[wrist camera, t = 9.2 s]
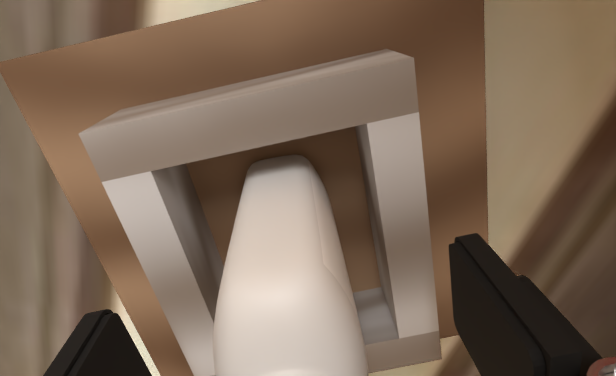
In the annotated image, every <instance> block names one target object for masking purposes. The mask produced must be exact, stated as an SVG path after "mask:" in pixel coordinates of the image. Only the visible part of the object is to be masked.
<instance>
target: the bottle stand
mask: <svg viewBox="0 0 616 376" xmlns="http://www.w3.org/2000/svg"><path fill="white" fill-rule="evenodd" d="M0 73H1V74H2V76H3V78H4V80H5V82H6V84H7V86H8V88H9V90H10V91H11V93H12V95H13V97H14V99H15V101H16V103H17V105H18V107H19V108H20V110H21V112H22V114H23V116H24V118H25V120H26V122H27V124H28V125H29V127H30V129H31V131H32V133H33V135H34V137H35V139H36V141H37V142H38V144H39V146H40V148H41V150H42V152H43V154H44V156H45V158H46V159H47V161H48V163H49V165H50V167H51V169H52V171H53V173H54V175H55V176H56V178H57V180H58V182H59V184H60V186H61V188H62V190H63V192H64V193H65V195H66V197H67V199H68V201H69V203H70V205H71V207H72V209H73V210H74V212H75V214H76V216H77V218H78V220H79V222H80V224H81V226H82V227H83V229H84V231H85V233H86V235H87V237H88V239H89V241H90V243H91V245H92V246H93V248H94V250H95V252H96V254H97V256H98V258H99V260H100V262H101V263H102V265H103V267H104V269H105V271H106V273H107V275H108V277H109V279H110V280H111V282H112V284H113V286H114V288H115V290H116V292H117V294H118V296H119V297H120V299H121V301H122V303H123V305H124V307H125V309H126V311H127V313H128V314H129V316H130V318H131V320H132V322H133V324H134V326H135V328H136V330H137V331H138V333H139V335H140V337H141V339H142V341H143V343H144V345H145V347H146V348H147V350H148V352H149V354H150V356H151V358H152V360H153V362H154V364H155V365H156V367H157V369H158V371H159V373H160V375H161V376H216V374H215V367H214V358H213V330H214V320H215V312H216V305H217V299H218V294H219V289H220V284H221V279H222V275H223V270H224V265H225V261H226V257H227V252H228V248H229V244H230V240H231V235H232V231H233V227H234V223H235V219H236V214H237V210H238V206H239V202H240V198H241V194H242V190H243V186H244V182H245V178H246V174H247V171H248V169H249V168H250V166H251V165H252V164H253V163H255V162H257V161H259V160H264V159H269V158H275V157H281V156H287V155H302V156H303V157H305V158H306V159H308V160H309V162H310V163H311V164H312V165H313V167H314V168H315V170H316V172H317V173H318V175H319V177H320V179H321V180H322V183H323V185H324V187H325V189H326V192H327V194H328V197H329V200H330V204H331V208H332V212H333V216H334V220H335V224H336V228H337V232H338V236H339V240H340V244H341V248H342V252H343V256H344V261H345V265H346V269H347V273H348V277H349V281H350V285H351V289H352V293H353V297H354V302H355V306H356V310H357V314H358V318H359V322H360V327H361V331H362V335H363V340H364V344H365V350H366V355H367V364H368V373H373V372H378V371H383V370H388V369H393V368H398V367H403V366H409V365H414V364H419V363H424V362H429V361H434V360H439V359H442V357H441V346H440V339H441V338H446V337H451V336H456V335H459V334H458V332H457V329H456V327H455V323H454V318H453V305H452V291H451V276H450V262H449V244H452V243H454V240H455V238H456V237H459V236H463V235H468V234H473V233H478V234H479V235H480V236H481V237H482V238H483V239H484V240H485V241H486V243H487V244H488V206H487V153H486V99H485V46H484V0H261V1H257V2H252V3H248V4H244V5H240V6H235V7H231V8H227V9H223V10H219V11H214V12H210V13H206V14H202V15H197V16H193V17H189V18H185V19H180V20H176V21H172V22H168V23H163V24H159V25H155V26H151V27H146V28H142V29H138V30H134V31H130V32H125V33H121V34H117V35H113V36H108V37H104V38H100V39H96V40H91V41H87V42H83V43H79V44H74V45H70V46H66V47H62V48H57V49H53V50H49V51H45V52H40V53H36V54H32V55H28V56H24V57H19V58H15V59H11V60H7V61H2V62H0Z"/></svg>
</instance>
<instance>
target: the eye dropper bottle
mask: <svg viewBox="0 0 616 376" xmlns="http://www.w3.org/2000/svg"><path fill="white" fill-rule="evenodd" d="M213 358H214V367H215V374H216V376H368V364H367V355H366V350H365V344H364V340H363V335H362V331H361V327H360V322H359V318H358V314H357V310H356V306H355V302H354V297H353V293H352V289H351V285H350V281H349V277H348V273H347V269H346V265H345V261H344V256H343V252H342V248H341V244H340V240H339V236H338V232H337V228H336V224H335V220H334V216H333V212H332V208H331V204H330V200H329V197H328V194H327V192H326V189H325V187H324V185H323V183H322V180H321V179H320V177H319V175H318V173H317V172H316V170H315V168H314V167H313V165H312V164H311V163H310V162H309V160H308V159H306V158H305V157H303V156H302V155H287V156H281V157H275V158H269V159H264V160H259V161H257V162H255V163H253V164H252V165H251V166H250V168H249V169H248V171H247V174H246V178H245V182H244V186H243V190H242V194H241V198H240V202H239V206H238V210H237V214H236V219H235V223H234V227H233V231H232V235H231V240H230V244H229V248H228V252H227V257H226V261H225V265H224V270H223V275H222V279H221V284H220V289H219V294H218V299H217V305H216V312H215V320H214V330H213Z"/></svg>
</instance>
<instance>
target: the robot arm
mask: <svg viewBox="0 0 616 376" xmlns="http://www.w3.org/2000/svg"><path fill="white" fill-rule="evenodd" d="M449 262H450V276H451V291H452V305H453V318H454V323H455V327H456V329H457V332H458V334H459V335H460V337H461V339H462V341H463V343H464V345H465V347H466V348H467V350H468V352H469V354H470V356H471V358H472V359H473V361H474V363H475V365H476V367H477V369H478V371H479V372H480V374H481V376H616V357H607V358H602V357H601V356H600V355H599V354H598V353H597V352H596V351H595V350H594V348H593V347H592V346H591V345H590V344H589V343H588V342H587V341H586V340H585V339H584V338H583V337H582V335H581V334H580V333H579V332H578V331H577V330H576V329H575V328H574V327H573V326H572V325H571V324H570V322H569V321H568V320H567V319H566V318H565V317H564V316H563V315H562V314H561V313H560V312H559V311H558V309H557V308H556V307H555V306H554V305H553V304H552V303H551V302H550V301H549V300H548V299H547V298H546V296H545V295H544V294H543V293H542V292H541V291H540V290H539V289H538V288H537V287H536V286H535V285H534V283H533V282H532V281H531V280H530V279H528V278H527V277H526V276H523V275H520V276H516V275H515V274H514V273H513V272H512V271H511V270H510V269H509V268H508V266H507V265H506V264H505V263H504V262H503V261H502V260H501V258H500V257H499V256H498V255H497V254H496V253H495V252H494V251H493V249H492V248H491V247H490V246H489V245H488V244H487V243H486V241H485V240H484V239H483V238H482V237H481V236H480V235H479V234H478V233H473V234H468V235H463V236H459V237H456V238H455V240H454V243H452V244H449ZM43 376H152V375H151V373H150V371H149V370H148V368H147V366H146V364H145V362H144V360H143V359H142V357H141V355H140V353H139V351H138V349H137V347H136V346H135V344H134V342H133V340H132V338H131V336H130V335H129V333H128V331H127V329H126V327H125V325H124V324H123V322H122V320H121V318H120V316H119V315H118V314H117V313H113V312H112V311H111V310H109V309H105V310H101V311H96V312H91V313H87V314H85V315H84V316H83V318H82V319H81V321H80V322H79V324H78V325H77V326H76V328H75V329H74V331H73V332H72V334H71V335H70V337H69V338H68V340H67V341H66V343H65V344H64V346H63V347H62V349H61V350H60V352H59V353H58V355H57V356H56V358H55V359H54V361H53V362H52V363H51V365H50V366H49V368H48V369H47V371H46V372H45V374H44V375H43Z"/></svg>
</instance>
